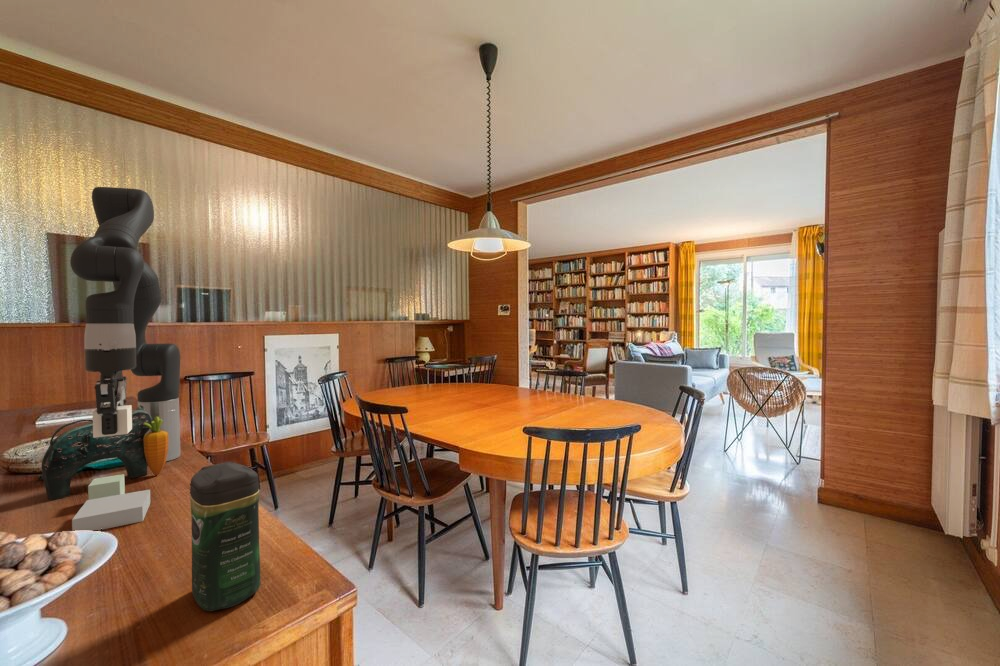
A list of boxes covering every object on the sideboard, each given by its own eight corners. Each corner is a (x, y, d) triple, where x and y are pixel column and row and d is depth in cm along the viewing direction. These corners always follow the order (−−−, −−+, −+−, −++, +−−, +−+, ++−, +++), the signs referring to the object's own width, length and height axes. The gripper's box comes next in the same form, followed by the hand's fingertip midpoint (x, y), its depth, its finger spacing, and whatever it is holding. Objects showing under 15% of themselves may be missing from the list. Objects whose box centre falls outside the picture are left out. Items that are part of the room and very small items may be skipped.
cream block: (99, 432, 85) (99, 407, 85) (132, 428, 88) (131, 404, 87) (93, 437, 81) (92, 411, 80) (127, 433, 83) (126, 408, 83)
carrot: (158, 479, 105) (157, 420, 105) (139, 479, 105) (137, 419, 105) (174, 472, 110) (172, 415, 110) (155, 471, 110) (154, 415, 110)
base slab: (87, 514, 86) (87, 500, 86) (150, 502, 91) (150, 489, 91) (72, 535, 78) (72, 519, 78) (142, 521, 83) (142, 506, 83)
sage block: (95, 500, 93) (94, 478, 93) (124, 495, 96) (124, 474, 95) (88, 509, 89) (88, 486, 88) (120, 503, 91) (119, 481, 91)
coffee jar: (268, 593, 61) (266, 467, 61) (204, 622, 55) (201, 483, 55) (246, 567, 68) (243, 453, 67) (186, 591, 62) (183, 466, 61)
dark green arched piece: (147, 470, 112) (145, 395, 111) (159, 474, 109) (156, 397, 108) (39, 498, 94) (36, 409, 93) (50, 504, 91) (46, 412, 90)
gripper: (94, 345, 88) (96, 426, 88) (74, 348, 76) (76, 442, 76) (141, 344, 92) (143, 421, 92) (129, 347, 80) (131, 436, 80)
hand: (113, 430), depth 84 cm, fingers closed on cream block, 5 cm apart
